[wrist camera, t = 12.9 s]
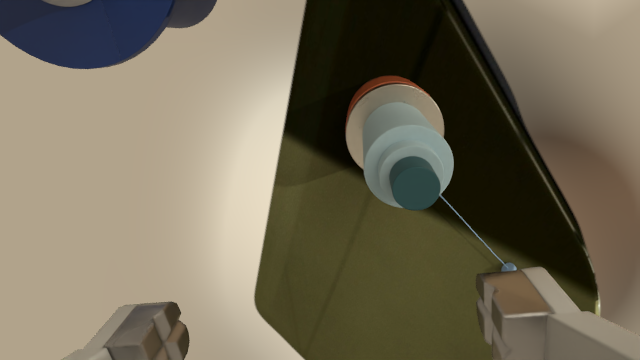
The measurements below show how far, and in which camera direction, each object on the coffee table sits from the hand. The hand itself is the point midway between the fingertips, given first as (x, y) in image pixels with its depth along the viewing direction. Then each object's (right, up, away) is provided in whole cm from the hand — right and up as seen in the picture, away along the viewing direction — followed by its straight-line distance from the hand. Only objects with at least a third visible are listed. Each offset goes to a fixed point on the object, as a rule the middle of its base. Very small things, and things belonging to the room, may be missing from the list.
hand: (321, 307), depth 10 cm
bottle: (+6, +7, +21) cm, 24 cm away
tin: (+7, +11, +30) cm, 33 cm away
